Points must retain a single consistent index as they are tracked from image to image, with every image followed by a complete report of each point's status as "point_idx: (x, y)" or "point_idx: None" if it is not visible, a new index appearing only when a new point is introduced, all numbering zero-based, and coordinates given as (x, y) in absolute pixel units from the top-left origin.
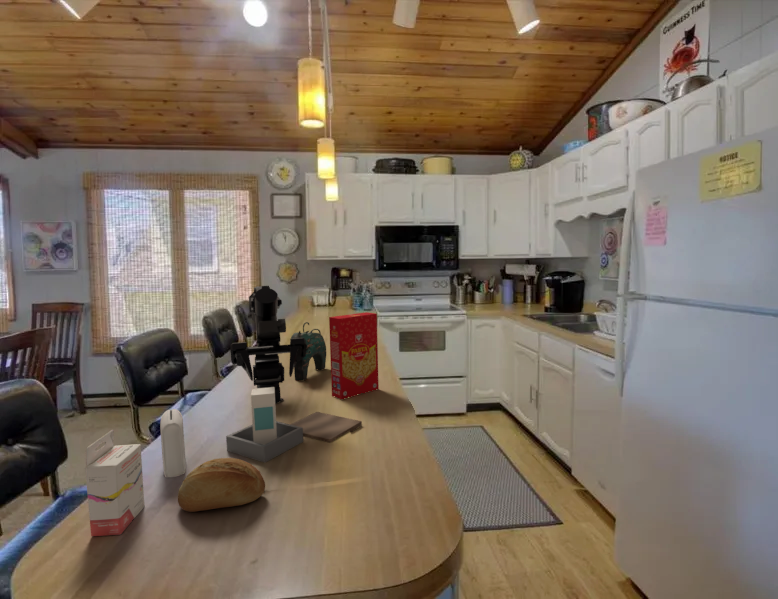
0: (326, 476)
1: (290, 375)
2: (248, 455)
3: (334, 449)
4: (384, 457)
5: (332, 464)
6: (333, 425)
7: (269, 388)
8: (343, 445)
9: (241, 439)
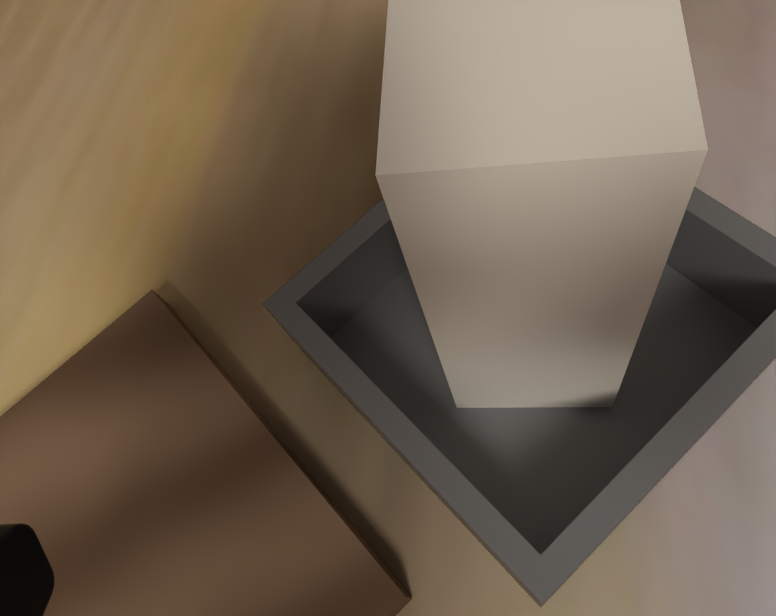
0: (268, 34)
1: (31, 539)
2: None
3: (165, 245)
4: (12, 134)
5: (220, 112)
6: (53, 508)
7: (445, 123)
8: (109, 279)
9: (693, 199)
